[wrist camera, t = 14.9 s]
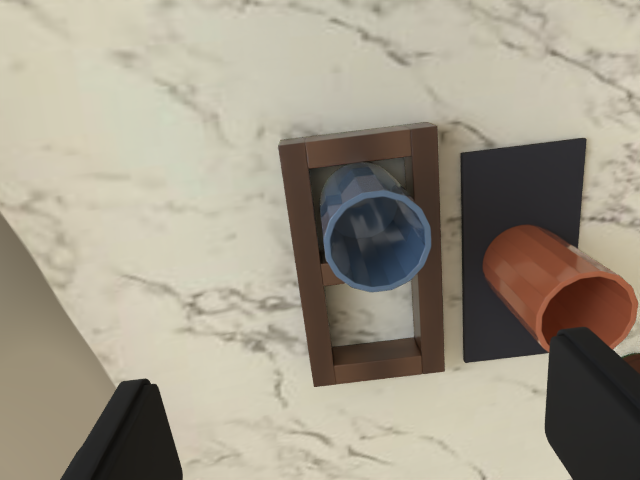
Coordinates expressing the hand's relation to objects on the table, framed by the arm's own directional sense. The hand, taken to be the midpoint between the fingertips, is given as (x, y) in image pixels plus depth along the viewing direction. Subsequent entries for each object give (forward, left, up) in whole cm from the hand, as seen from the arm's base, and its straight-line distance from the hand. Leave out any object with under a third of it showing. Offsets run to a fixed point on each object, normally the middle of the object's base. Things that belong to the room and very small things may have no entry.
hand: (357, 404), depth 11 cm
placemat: (+10, +17, -28) cm, 34 cm away
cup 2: (+10, +17, -28) cm, 34 cm away
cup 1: (+3, +3, -28) cm, 29 cm away
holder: (+8, +3, -28) cm, 30 cm away
